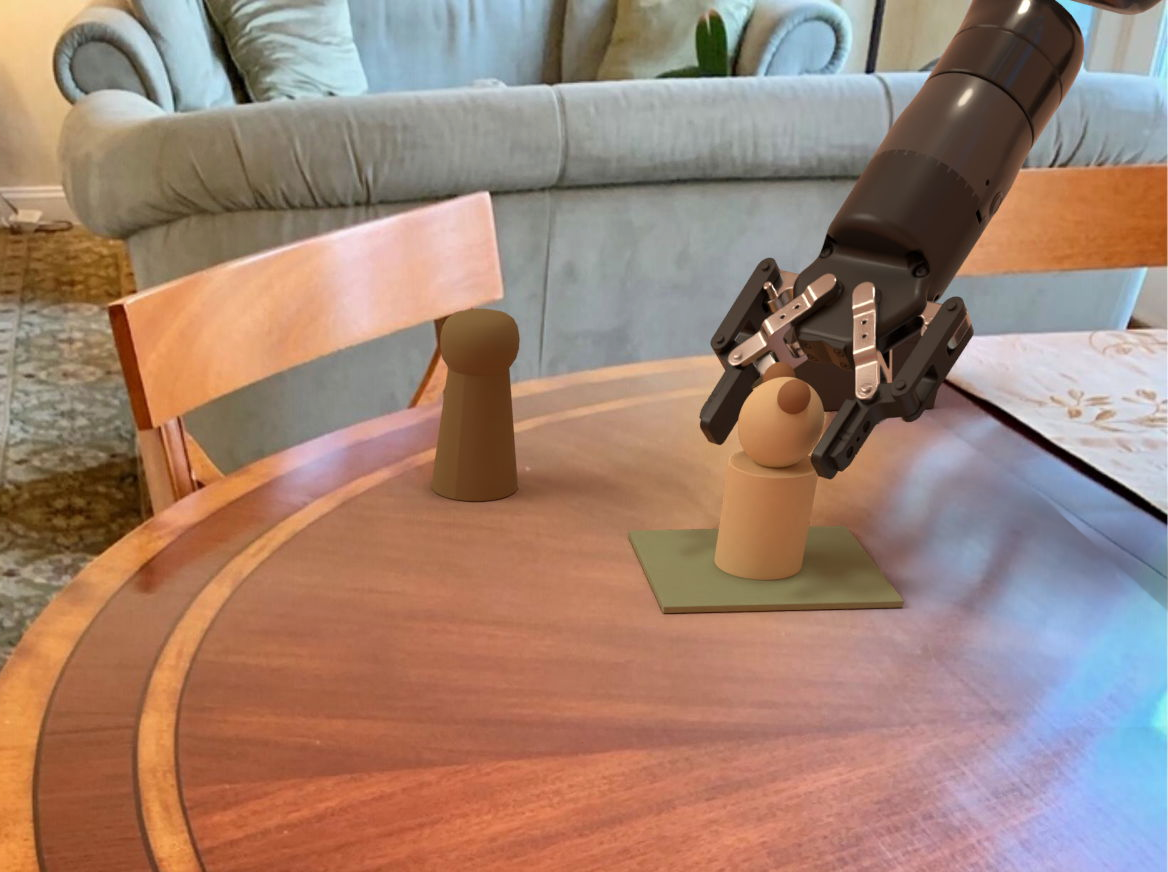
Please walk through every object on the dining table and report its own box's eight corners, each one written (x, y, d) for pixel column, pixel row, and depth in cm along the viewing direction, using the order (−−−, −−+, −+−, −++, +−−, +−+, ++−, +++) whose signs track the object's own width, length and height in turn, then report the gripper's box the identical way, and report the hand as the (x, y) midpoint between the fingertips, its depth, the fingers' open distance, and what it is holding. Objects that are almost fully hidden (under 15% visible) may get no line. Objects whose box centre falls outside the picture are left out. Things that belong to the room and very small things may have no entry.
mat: (844, 531, 94) (846, 525, 94) (902, 607, 85) (904, 600, 85) (628, 536, 94) (628, 530, 94) (663, 613, 85) (663, 606, 85)
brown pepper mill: (473, 465, 105) (479, 295, 98) (536, 486, 102) (547, 312, 94) (412, 485, 102) (414, 312, 95) (475, 507, 98) (481, 329, 91)
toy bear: (789, 546, 92) (822, 357, 84) (811, 579, 88) (848, 383, 81) (706, 548, 92) (732, 359, 84) (724, 581, 88) (753, 385, 80)
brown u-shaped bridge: (894, 371, 121) (910, 291, 118) (933, 408, 114) (952, 324, 110) (749, 374, 121) (761, 294, 117) (779, 412, 114) (793, 327, 110)
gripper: (802, 130, 84) (643, 386, 86) (1030, 161, 75) (847, 445, 77) (841, 222, 90) (691, 460, 92) (1056, 261, 81) (886, 522, 83)
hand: (763, 452), depth 84 cm, fingers open, 7 cm apart
